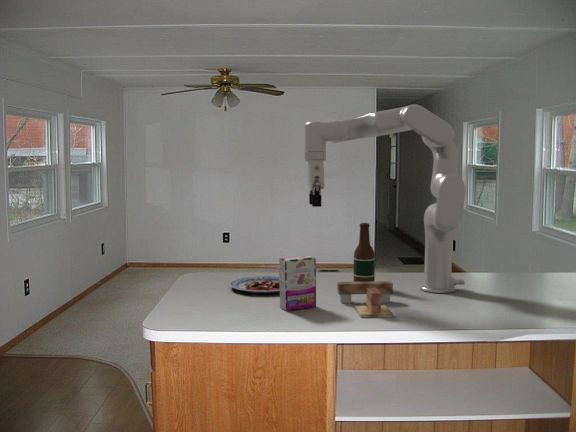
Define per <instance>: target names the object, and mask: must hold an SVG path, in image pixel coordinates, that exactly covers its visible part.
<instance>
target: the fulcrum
mask: <svg viewBox="0 0 576 432" xmlns="http://www.w3.org/2000/svg"><path fill="white" fill-rule="evenodd" d="M354 310H355V312H356V313H357V314H358V316H359V318H394V312H393V311H391V309H390V308H389V307H388V306H387V305H382V302H381V293H380V292H379V291H378V290H377V289H376V288H367V294H366V305H354Z"/></svg>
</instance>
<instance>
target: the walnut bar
mask: <svg viewBox="0 0 576 432" xmlns="http://www.w3.org/2000/svg"><path fill="white" fill-rule="evenodd" d="M336 284H337V294H338V295H339V296H340V295H350V294H351V295H367V288H376V289H377V290H378V291H379V292H380V293H381V294H390V295H392V294H394V292H393V291H394V290H393V289H394V288H393V287H394V286H393V285H394V282H392V281H391V280H389V281H388V280H386V281H384V280H383V281H380V280H379V281H377V280H375V281H370V282H354V281H337V283H336Z"/></svg>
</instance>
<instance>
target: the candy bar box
mask: <svg viewBox="0 0 576 432" xmlns="http://www.w3.org/2000/svg"><path fill="white" fill-rule="evenodd" d="M316 260H317V259H316V257H315V256H312V255H302V256H301V255H299V256H293V257H292V256H290V257H281V258H278V262H279V263H278V267H279V272H278V273H279V276H278V277H279V278H280V292H279V308H280V309H281V310H283V311H285V312H290V311H291V312H292V311H297V310H305V309H311V308H316V307H317V276H316V275H317V271H316V270H317V269H316V267H317V266H316V263H317V262H316Z"/></svg>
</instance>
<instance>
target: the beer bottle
mask: <svg viewBox="0 0 576 432" xmlns="http://www.w3.org/2000/svg"><path fill="white" fill-rule="evenodd" d="M359 227H360V229H359V238H358V239H359V240H358V245H357V246H356V248H355V250H354V253H353V282H370V281H376V280H375V278H376V277H375V276H376V275H375V270H376V269H375V267H376V260H375V259H376V257H375V256H376V255H375V251H374V248H373V247H372V245H371V242H370V241H371V240H370V227H371V226H370V223H368V222H361V223H359Z"/></svg>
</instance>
